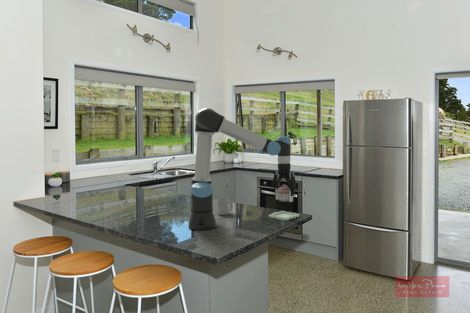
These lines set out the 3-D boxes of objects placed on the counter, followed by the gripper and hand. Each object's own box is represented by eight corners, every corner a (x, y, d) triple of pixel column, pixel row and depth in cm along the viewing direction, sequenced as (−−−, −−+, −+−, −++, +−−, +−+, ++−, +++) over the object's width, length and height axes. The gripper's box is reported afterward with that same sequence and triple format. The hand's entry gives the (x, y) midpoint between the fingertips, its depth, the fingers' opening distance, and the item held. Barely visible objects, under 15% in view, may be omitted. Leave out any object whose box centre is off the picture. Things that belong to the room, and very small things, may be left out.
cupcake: (273, 201, 232) (273, 184, 231) (281, 198, 239) (281, 182, 238) (286, 202, 226) (286, 185, 225) (295, 200, 233) (295, 183, 232)
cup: (216, 212, 247) (215, 198, 246) (231, 211, 249) (231, 197, 248) (218, 215, 240) (218, 201, 239) (234, 214, 242) (234, 200, 241)
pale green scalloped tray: (286, 220, 224) (286, 218, 224) (267, 216, 234) (267, 214, 234) (299, 216, 234) (299, 214, 234) (280, 213, 244) (280, 210, 243)
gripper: (303, 163, 226) (303, 201, 228) (273, 161, 241) (273, 197, 243) (295, 164, 220) (295, 203, 222) (265, 162, 236) (265, 198, 238)
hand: (284, 200), depth 233 cm, fingers closed on cupcake, 9 cm apart
